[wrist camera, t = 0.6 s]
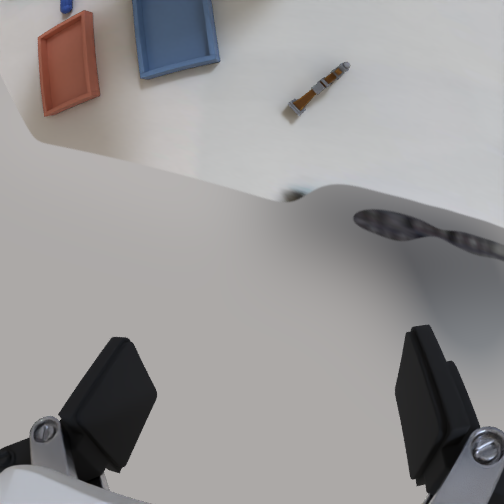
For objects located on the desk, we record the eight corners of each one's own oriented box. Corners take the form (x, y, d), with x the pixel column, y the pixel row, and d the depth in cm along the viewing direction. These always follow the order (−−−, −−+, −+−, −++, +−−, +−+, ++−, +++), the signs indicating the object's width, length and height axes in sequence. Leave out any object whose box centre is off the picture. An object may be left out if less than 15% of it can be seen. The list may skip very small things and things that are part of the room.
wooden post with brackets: (359, 66, 28) (354, 70, 25) (309, 106, 34) (298, 116, 31) (348, 54, 28) (341, 57, 25) (299, 95, 33) (286, 104, 30)
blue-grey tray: (138, -8, 27) (131, -12, 25) (207, -29, 26) (202, -35, 24) (147, 79, 32) (140, 78, 31) (220, 61, 31) (215, 59, 29)
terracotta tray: (46, 38, 30) (37, 37, 29) (92, 12, 29) (84, 9, 27) (53, 115, 36) (44, 116, 34) (100, 95, 34) (91, 95, 32)
